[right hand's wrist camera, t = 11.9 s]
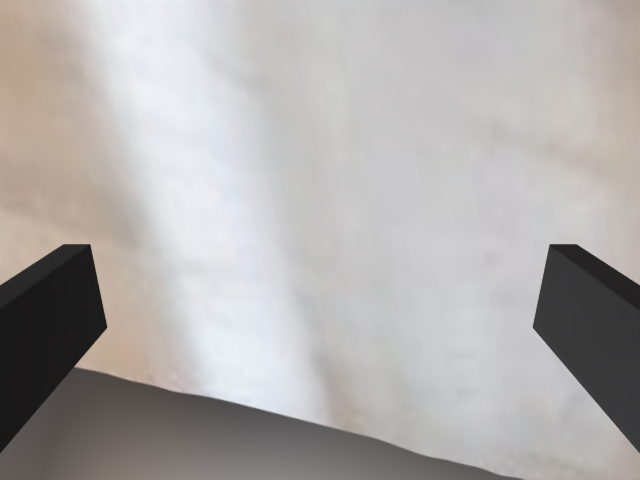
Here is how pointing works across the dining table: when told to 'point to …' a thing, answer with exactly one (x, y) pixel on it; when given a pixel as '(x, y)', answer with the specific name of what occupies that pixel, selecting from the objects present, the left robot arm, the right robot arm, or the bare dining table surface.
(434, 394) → the dining table surface
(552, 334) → the right robot arm
